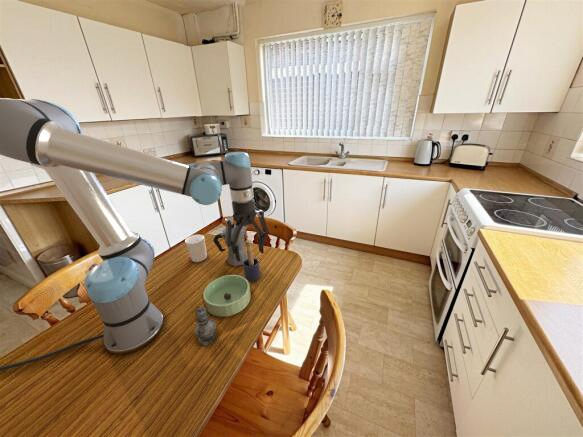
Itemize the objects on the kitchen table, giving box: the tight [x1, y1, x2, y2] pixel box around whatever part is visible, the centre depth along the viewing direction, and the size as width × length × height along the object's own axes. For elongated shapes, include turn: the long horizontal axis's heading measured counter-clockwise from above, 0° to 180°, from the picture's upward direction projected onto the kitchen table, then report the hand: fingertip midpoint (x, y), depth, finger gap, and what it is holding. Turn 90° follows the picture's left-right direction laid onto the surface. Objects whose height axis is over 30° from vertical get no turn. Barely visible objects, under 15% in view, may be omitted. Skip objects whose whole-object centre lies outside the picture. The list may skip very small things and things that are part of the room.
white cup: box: [184, 234, 208, 263], centre depth 105 cm, size 8×8×10 cm
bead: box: [224, 292, 231, 300], centre depth 82 cm, size 2×2×2 cm
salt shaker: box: [194, 306, 217, 346], centre depth 67 cm, size 6×6×12 cm
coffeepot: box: [213, 223, 249, 267], centre depth 100 cm, size 15×9×18 cm, turn 129°
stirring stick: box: [245, 239, 254, 266], centre depth 90 cm, size 2×2×16 cm
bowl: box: [202, 274, 252, 318], centre depth 82 cm, size 15×15×5 cm
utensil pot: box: [242, 257, 261, 282], centre depth 92 cm, size 6×6×7 cm
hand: (250, 255), depth 90 cm, fingers open, 9 cm apart
